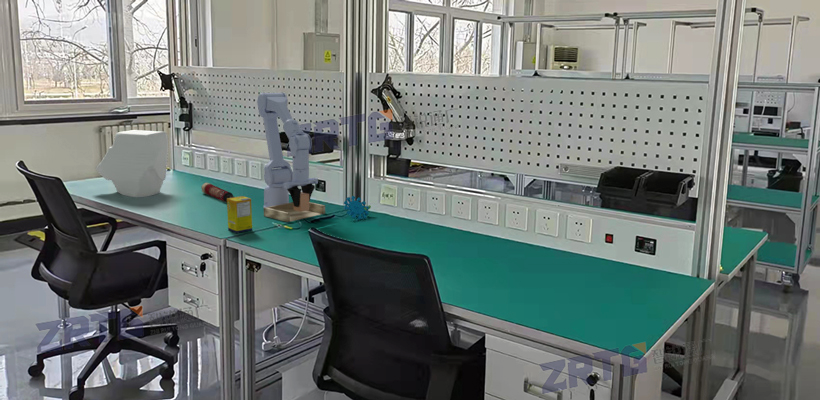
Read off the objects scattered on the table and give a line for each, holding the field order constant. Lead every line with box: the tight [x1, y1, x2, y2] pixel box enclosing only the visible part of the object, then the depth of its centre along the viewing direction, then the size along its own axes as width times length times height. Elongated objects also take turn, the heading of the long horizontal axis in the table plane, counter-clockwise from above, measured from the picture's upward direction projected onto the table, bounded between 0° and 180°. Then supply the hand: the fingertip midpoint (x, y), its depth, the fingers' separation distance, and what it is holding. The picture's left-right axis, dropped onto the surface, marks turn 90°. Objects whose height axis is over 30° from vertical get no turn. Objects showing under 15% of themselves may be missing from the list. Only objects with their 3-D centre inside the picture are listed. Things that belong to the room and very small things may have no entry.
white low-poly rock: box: [95, 129, 169, 198], centre depth 269 cm, size 21×27×26 cm
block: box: [293, 191, 310, 212], centre depth 231 cm, size 4×4×6 cm
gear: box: [343, 195, 372, 221], centre depth 235 cm, size 11×6×10 cm
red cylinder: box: [201, 182, 235, 204], centre depth 263 cm, size 5×5×30 cm
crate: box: [263, 201, 326, 223], centre depth 234 cm, size 13×18×4 cm
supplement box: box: [226, 195, 253, 234], centre depth 212 cm, size 6×6×11 cm
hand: (301, 205), depth 232 cm, fingers closed on block, 4 cm apart
